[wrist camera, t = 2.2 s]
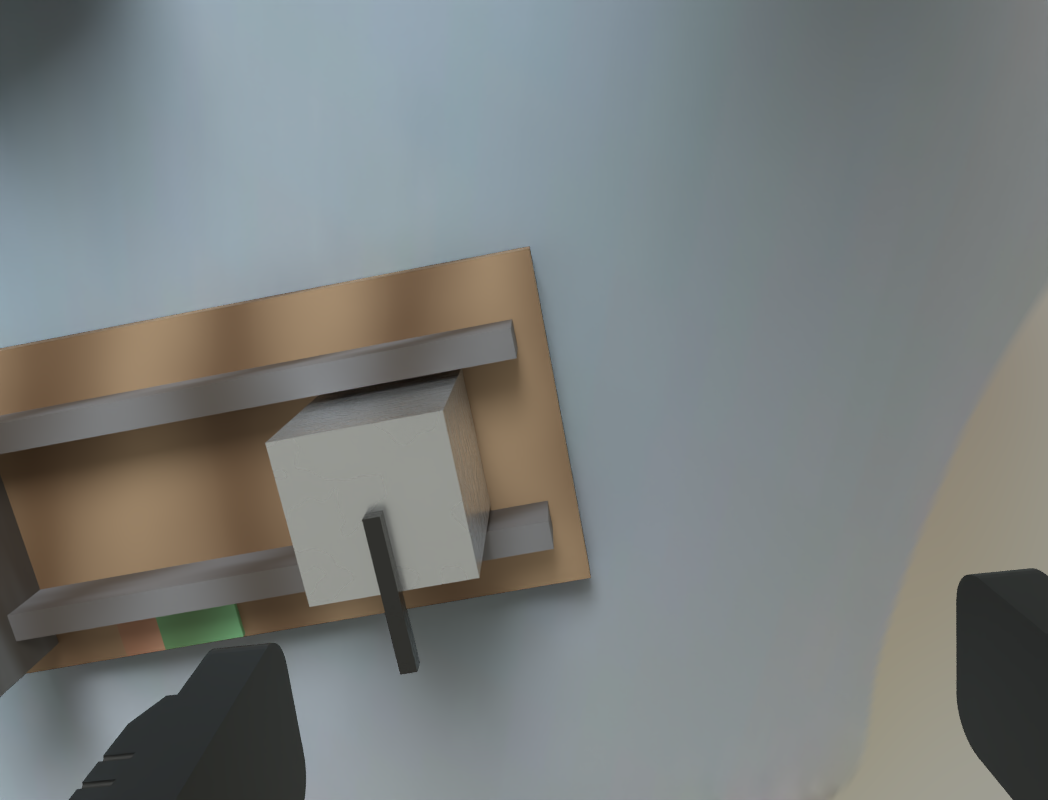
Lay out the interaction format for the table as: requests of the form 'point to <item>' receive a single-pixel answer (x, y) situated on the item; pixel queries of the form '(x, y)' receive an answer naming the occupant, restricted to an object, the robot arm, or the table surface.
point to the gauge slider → (384, 494)
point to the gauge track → (253, 458)
